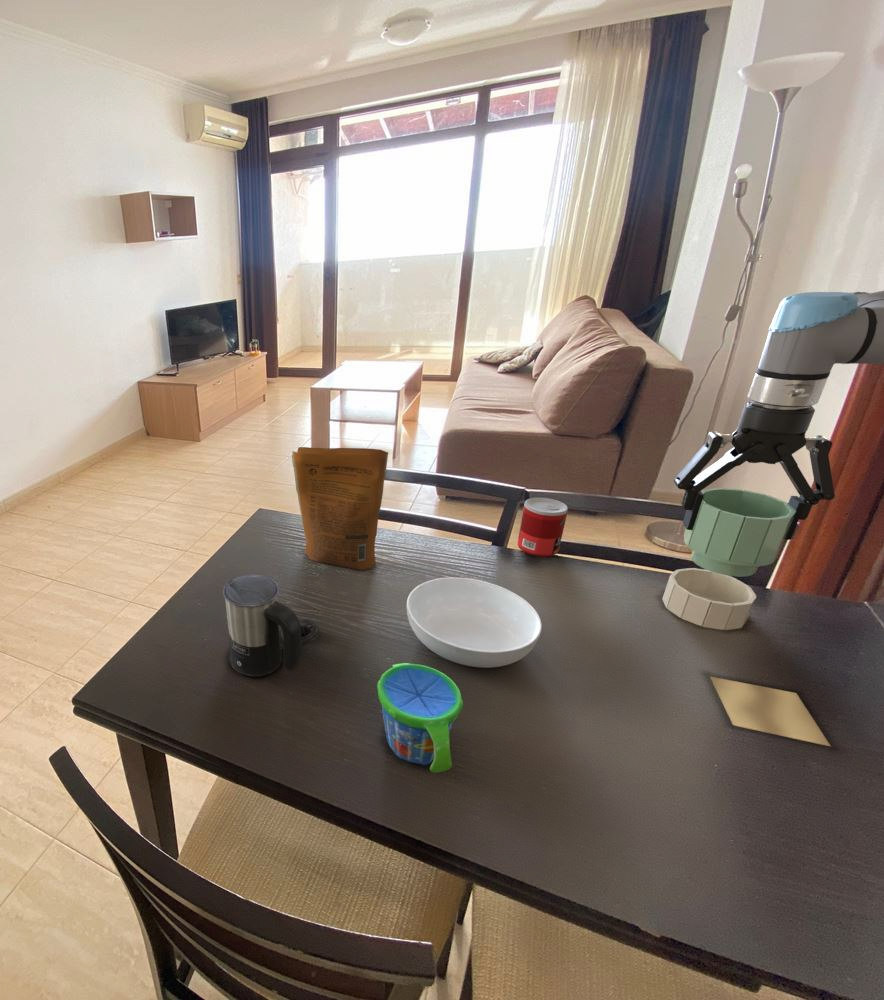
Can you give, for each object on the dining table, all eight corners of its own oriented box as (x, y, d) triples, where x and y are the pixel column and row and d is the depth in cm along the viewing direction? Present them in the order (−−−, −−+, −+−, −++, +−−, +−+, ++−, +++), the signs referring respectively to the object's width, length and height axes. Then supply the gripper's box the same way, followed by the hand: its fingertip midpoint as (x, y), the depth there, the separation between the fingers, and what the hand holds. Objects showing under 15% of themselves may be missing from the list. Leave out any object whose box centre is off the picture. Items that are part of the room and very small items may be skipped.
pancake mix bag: (378, 578, 113) (385, 454, 101) (292, 562, 122) (290, 445, 110) (384, 562, 119) (392, 443, 107) (302, 547, 127) (301, 435, 115)
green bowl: (753, 551, 94) (776, 491, 89) (782, 587, 85) (809, 523, 80) (671, 542, 99) (688, 485, 94) (689, 575, 90) (710, 514, 85)
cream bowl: (731, 599, 99) (741, 574, 96) (755, 637, 90) (767, 610, 87) (656, 588, 103) (663, 564, 101) (671, 623, 94) (680, 597, 92)
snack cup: (364, 703, 84) (366, 652, 79) (432, 700, 83) (439, 649, 79) (390, 795, 69) (395, 739, 65) (473, 793, 69) (484, 736, 65)
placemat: (795, 694, 79) (796, 692, 78) (830, 749, 71) (831, 746, 70) (708, 678, 83) (709, 676, 82) (731, 727, 75) (732, 725, 74)
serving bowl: (565, 666, 87) (573, 632, 84) (455, 700, 83) (460, 666, 80) (475, 596, 105) (480, 566, 103) (381, 621, 101) (383, 591, 98)
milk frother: (220, 670, 93) (213, 599, 86) (253, 616, 105) (249, 551, 99) (300, 691, 87) (298, 617, 80) (325, 631, 100) (325, 563, 93)
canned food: (561, 560, 114) (572, 514, 109) (519, 556, 117) (527, 511, 112) (554, 542, 121) (563, 498, 116) (514, 539, 123) (522, 496, 119)
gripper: (686, 407, 82) (650, 532, 91) (911, 413, 72) (845, 552, 81) (673, 395, 88) (640, 512, 97) (878, 398, 78) (821, 529, 87)
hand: (734, 531), depth 89 cm, fingers closed on green bowl, 12 cm apart
